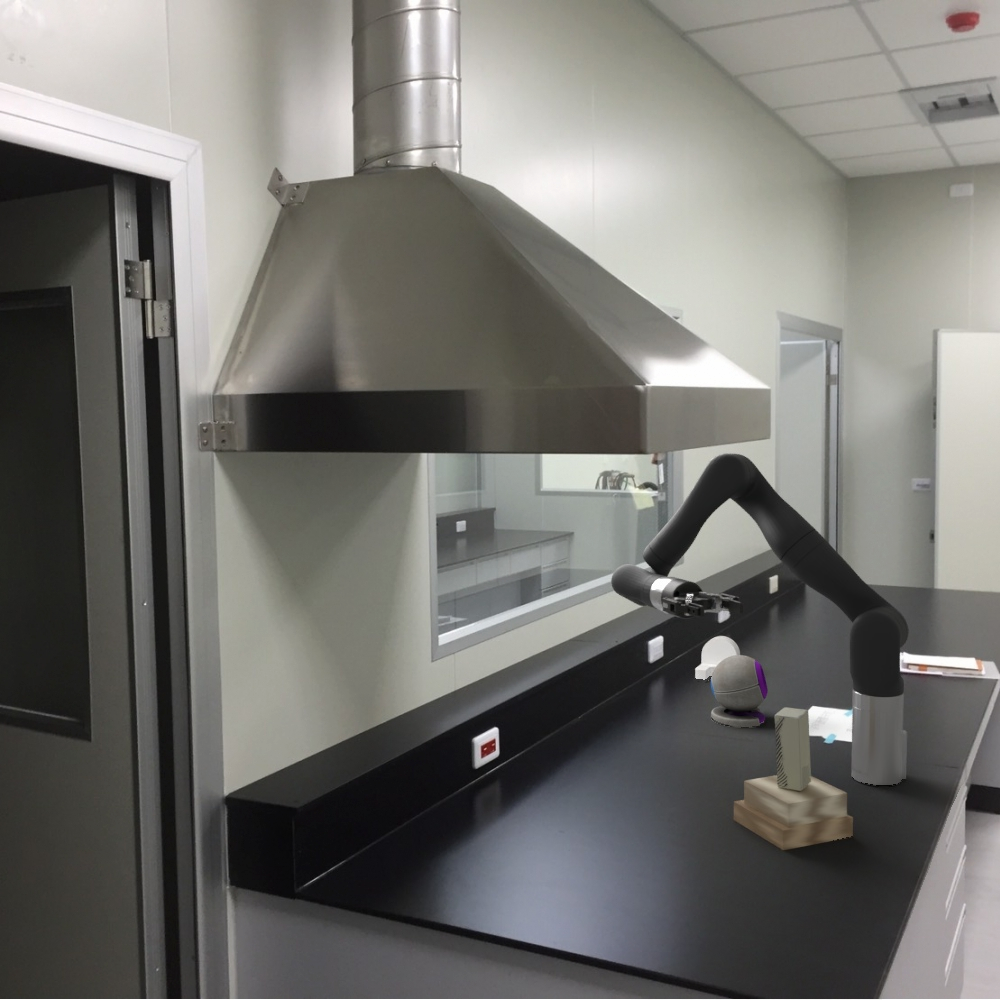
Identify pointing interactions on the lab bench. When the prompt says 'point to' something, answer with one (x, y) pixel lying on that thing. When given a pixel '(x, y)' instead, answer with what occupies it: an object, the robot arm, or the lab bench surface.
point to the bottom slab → (792, 828)
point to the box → (792, 748)
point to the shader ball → (739, 691)
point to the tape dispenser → (715, 655)
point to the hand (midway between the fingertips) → (722, 610)
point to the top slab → (795, 801)
